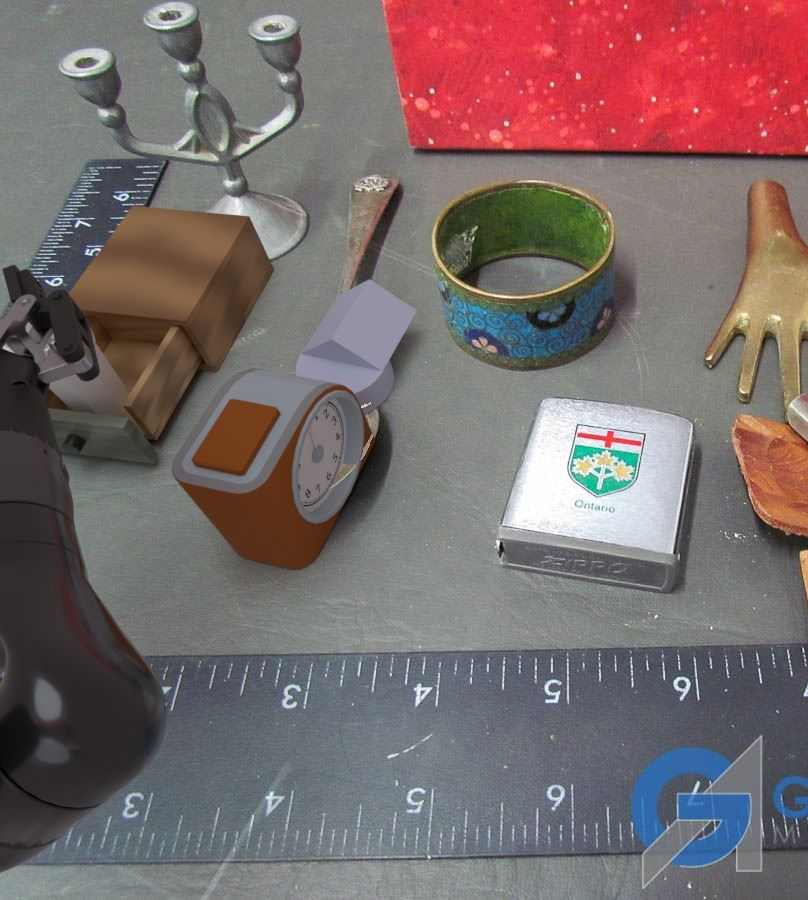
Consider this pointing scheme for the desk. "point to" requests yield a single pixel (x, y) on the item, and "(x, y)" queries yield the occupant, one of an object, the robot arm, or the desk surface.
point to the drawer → (130, 390)
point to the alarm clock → (274, 463)
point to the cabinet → (179, 275)
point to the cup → (90, 388)
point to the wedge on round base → (358, 343)
